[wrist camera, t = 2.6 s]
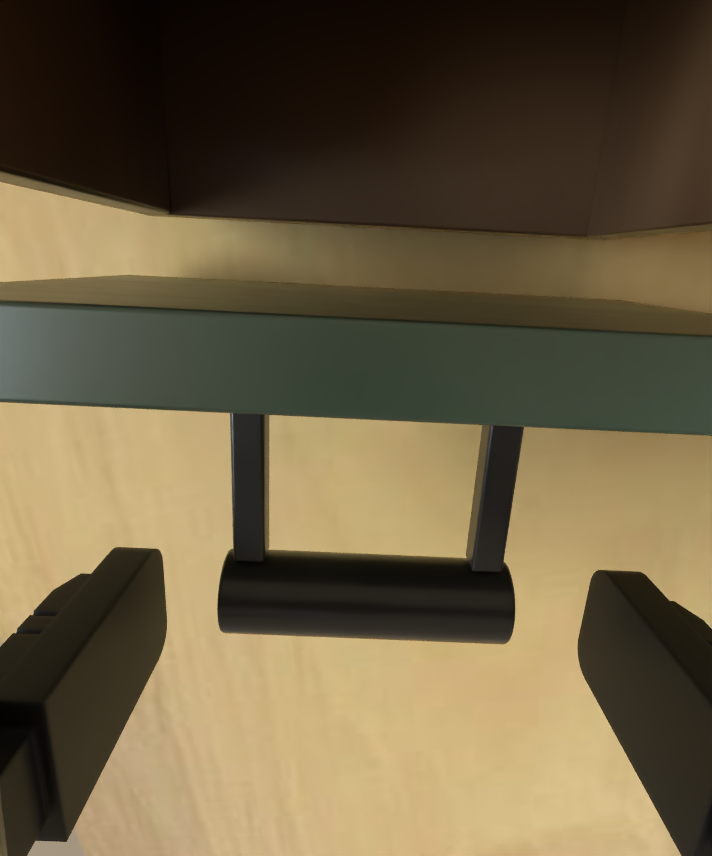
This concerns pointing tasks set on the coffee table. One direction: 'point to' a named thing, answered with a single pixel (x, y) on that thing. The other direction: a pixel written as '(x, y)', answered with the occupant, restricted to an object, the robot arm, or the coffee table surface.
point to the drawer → (374, 208)
